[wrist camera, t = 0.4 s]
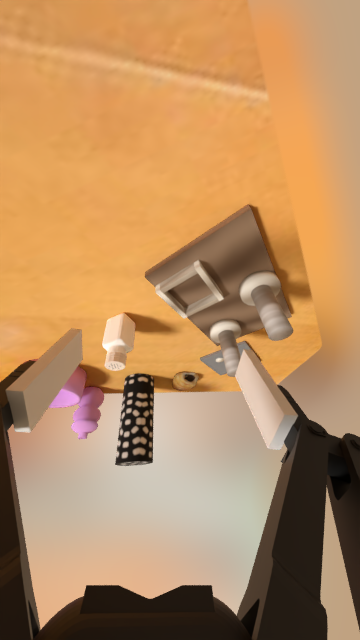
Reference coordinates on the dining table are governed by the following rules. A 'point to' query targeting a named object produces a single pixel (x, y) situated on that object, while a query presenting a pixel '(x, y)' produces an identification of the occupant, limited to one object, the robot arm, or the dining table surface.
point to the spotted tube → (136, 421)
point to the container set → (80, 402)
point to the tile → (222, 359)
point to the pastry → (185, 380)
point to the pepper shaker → (118, 341)
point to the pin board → (225, 285)
